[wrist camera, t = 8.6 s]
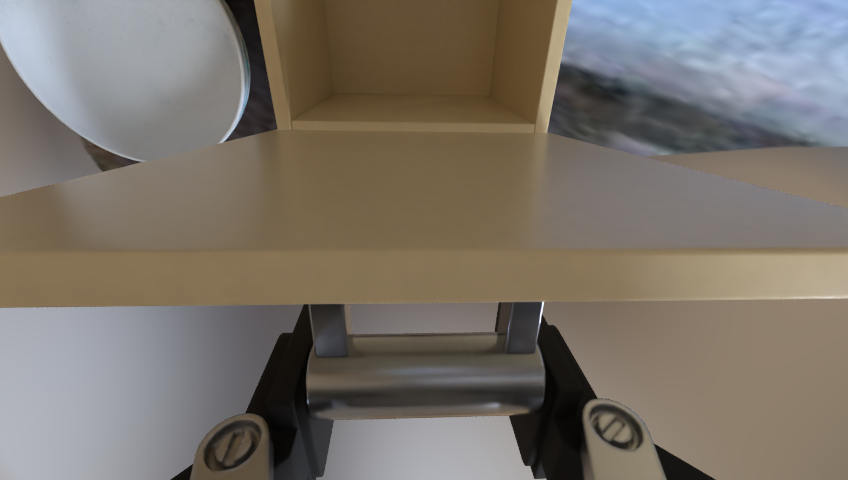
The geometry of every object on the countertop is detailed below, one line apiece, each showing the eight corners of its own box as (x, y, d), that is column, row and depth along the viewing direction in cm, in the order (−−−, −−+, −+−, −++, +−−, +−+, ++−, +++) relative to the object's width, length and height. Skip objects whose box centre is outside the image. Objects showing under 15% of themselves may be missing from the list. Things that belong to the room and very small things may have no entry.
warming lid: (-240, 254, 4) (-26, 519, 6) (1013, 248, 5) (836, 487, 7) (274, 129, 19) (287, 215, 21) (549, 132, 20) (537, 215, 22)
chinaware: (286, 148, 34) (256, 173, 27) (121, 130, 32) (46, 153, 25) (271, -47, 26) (224, -79, 20) (57, -81, 25) (-73, -127, 18)
